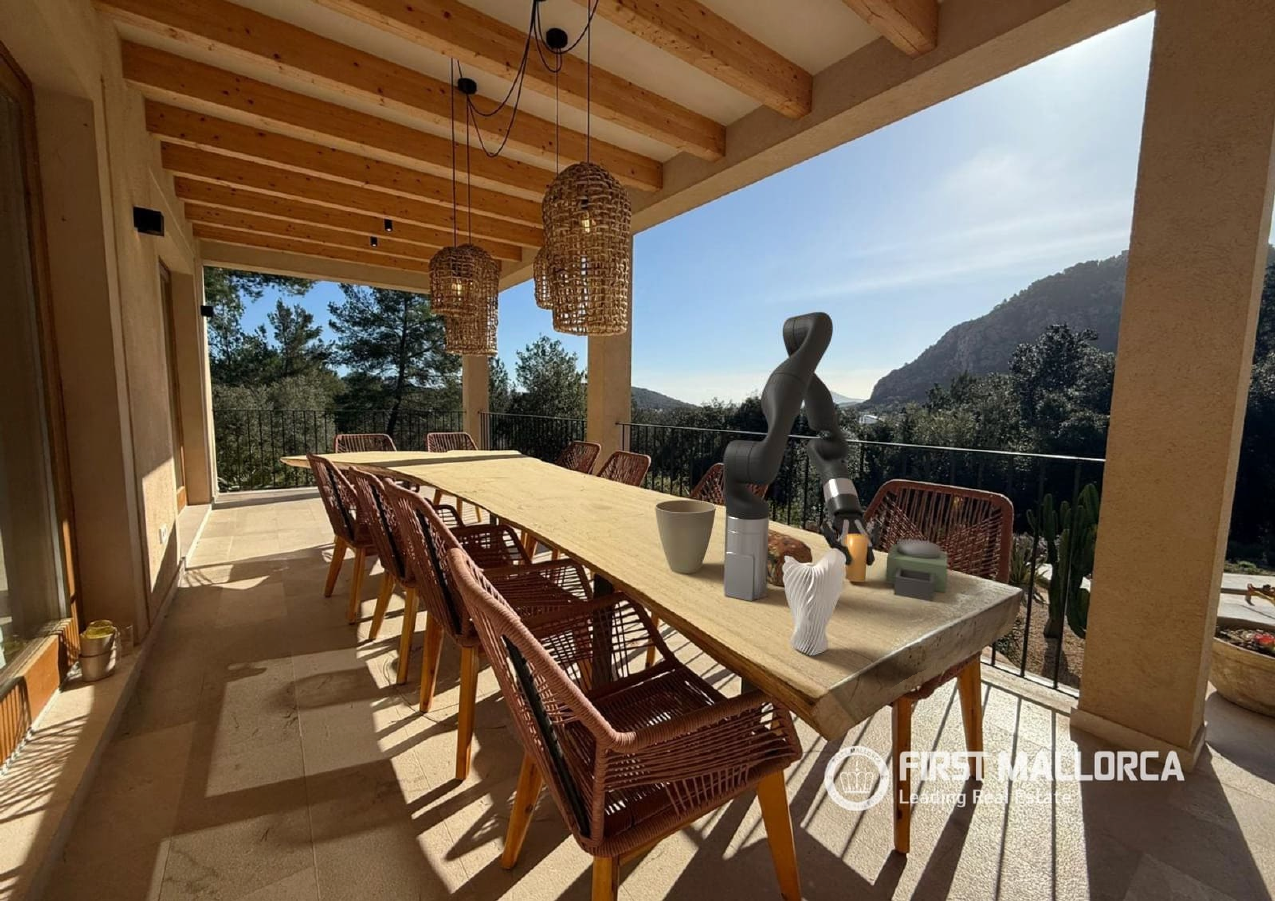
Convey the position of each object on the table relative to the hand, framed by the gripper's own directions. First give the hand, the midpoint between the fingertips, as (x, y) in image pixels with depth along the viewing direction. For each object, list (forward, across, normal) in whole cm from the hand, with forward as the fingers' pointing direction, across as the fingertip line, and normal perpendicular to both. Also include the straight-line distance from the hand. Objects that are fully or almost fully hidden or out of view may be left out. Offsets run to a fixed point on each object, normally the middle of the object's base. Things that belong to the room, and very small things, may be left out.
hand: (859, 563), depth 118 cm
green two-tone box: (+3, +14, +5) cm, 15 cm away
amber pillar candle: (+2, 0, +4) cm, 5 cm away
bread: (-2, -18, +10) cm, 21 cm away
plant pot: (-4, -39, +12) cm, 41 cm away
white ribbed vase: (+26, -21, -18) cm, 38 cm away
